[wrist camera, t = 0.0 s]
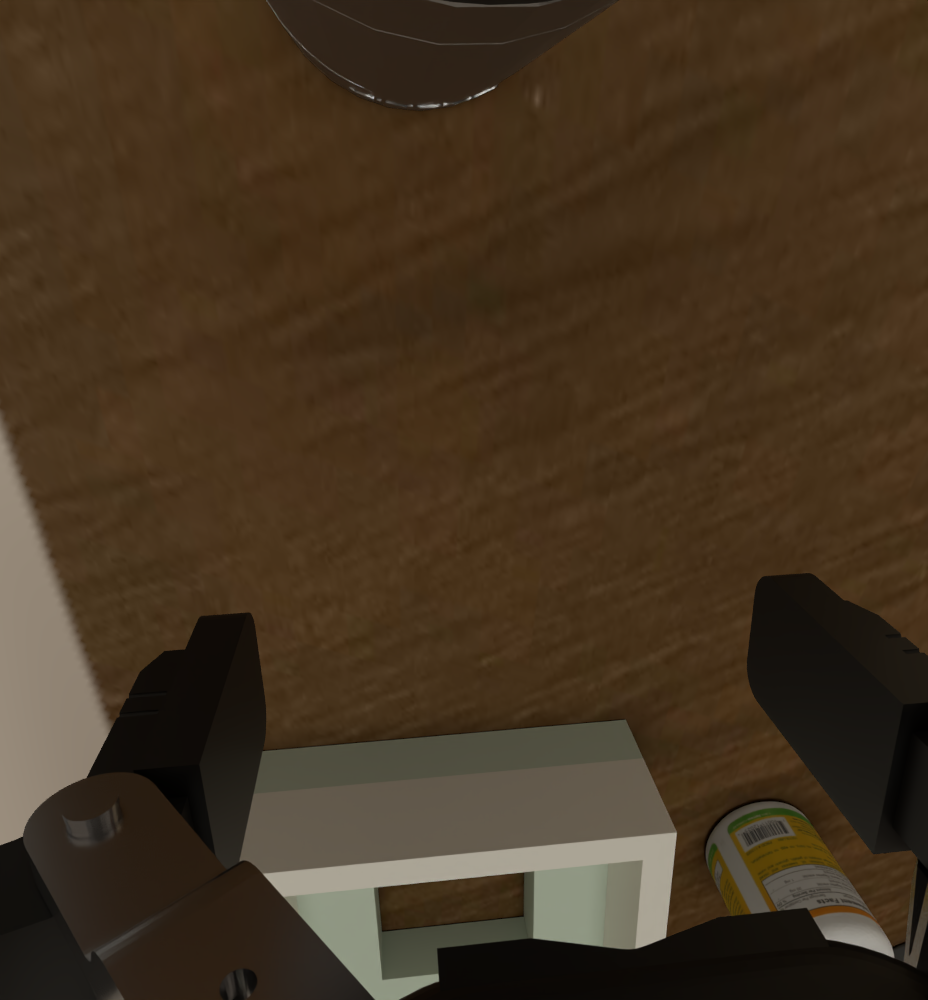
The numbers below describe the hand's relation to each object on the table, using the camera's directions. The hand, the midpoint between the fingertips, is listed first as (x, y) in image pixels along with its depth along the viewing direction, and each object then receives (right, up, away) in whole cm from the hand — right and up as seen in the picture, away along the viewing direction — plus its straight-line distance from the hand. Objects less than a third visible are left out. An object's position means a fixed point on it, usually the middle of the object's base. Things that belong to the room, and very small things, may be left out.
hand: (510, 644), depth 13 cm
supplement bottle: (+14, -14, +26) cm, 33 cm away
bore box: (-1, -15, +25) cm, 29 cm away
